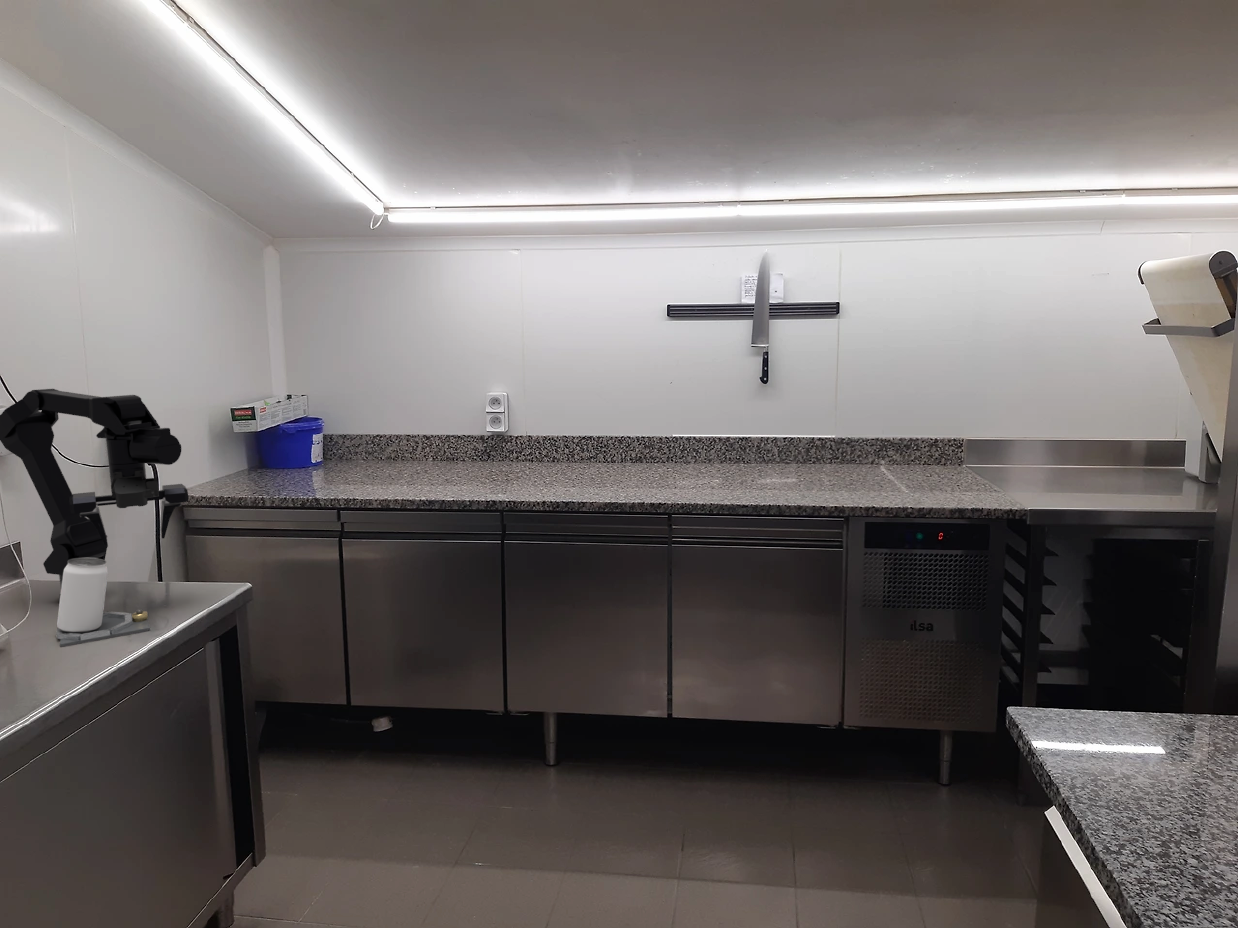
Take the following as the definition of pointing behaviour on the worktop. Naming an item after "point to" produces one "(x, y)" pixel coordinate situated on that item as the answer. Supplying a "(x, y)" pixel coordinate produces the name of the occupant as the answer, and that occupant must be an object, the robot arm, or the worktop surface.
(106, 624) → the carrier plate
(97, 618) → the can
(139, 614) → the brass round knob
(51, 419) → the robot arm
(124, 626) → the socket
